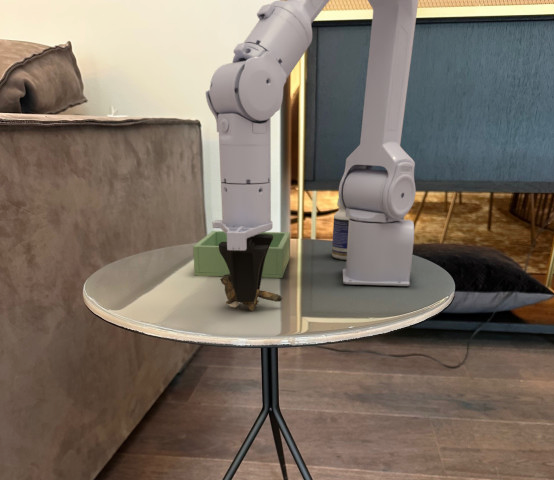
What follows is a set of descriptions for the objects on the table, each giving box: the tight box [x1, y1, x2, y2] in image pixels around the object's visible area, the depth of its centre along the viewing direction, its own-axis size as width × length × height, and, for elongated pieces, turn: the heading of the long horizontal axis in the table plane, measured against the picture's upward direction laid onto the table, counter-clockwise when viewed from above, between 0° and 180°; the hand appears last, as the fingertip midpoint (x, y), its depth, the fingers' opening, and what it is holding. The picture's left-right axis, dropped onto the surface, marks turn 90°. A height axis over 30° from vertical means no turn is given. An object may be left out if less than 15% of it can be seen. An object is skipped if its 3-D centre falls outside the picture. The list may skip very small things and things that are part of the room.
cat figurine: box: [220, 274, 283, 312], centre depth 65 cm, size 3×8×4 cm, turn 82°
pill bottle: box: [331, 197, 349, 261], centre depth 91 cm, size 6×6×10 cm
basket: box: [192, 230, 291, 279], centre depth 85 cm, size 14×14×4 cm
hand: (248, 297), depth 65 cm, fingers closed on cat figurine, 3 cm apart
